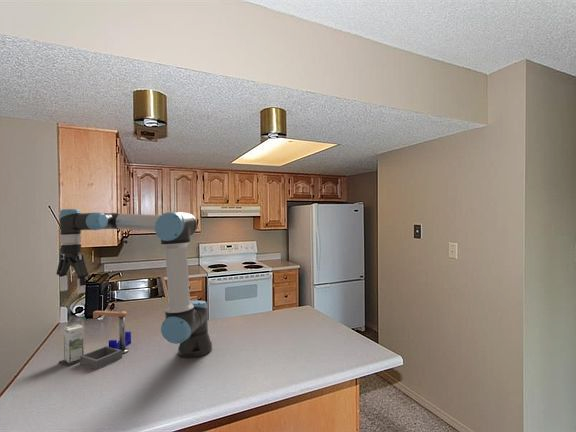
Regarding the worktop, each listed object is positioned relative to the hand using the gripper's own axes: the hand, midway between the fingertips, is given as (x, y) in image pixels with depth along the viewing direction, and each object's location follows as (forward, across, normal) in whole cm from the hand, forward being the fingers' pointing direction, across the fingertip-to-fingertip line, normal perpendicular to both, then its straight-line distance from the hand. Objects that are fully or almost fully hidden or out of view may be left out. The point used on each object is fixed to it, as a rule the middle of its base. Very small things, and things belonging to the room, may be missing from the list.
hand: (72, 291), depth 138 cm
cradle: (+31, -12, -5) cm, 33 cm away
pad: (+31, 0, 0) cm, 31 cm away
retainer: (+15, -5, -13) cm, 21 cm away
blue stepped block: (+31, -6, -17) cm, 36 cm away
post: (+31, -12, -15) cm, 36 cm away
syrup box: (+30, 0, 0) cm, 30 cm away
